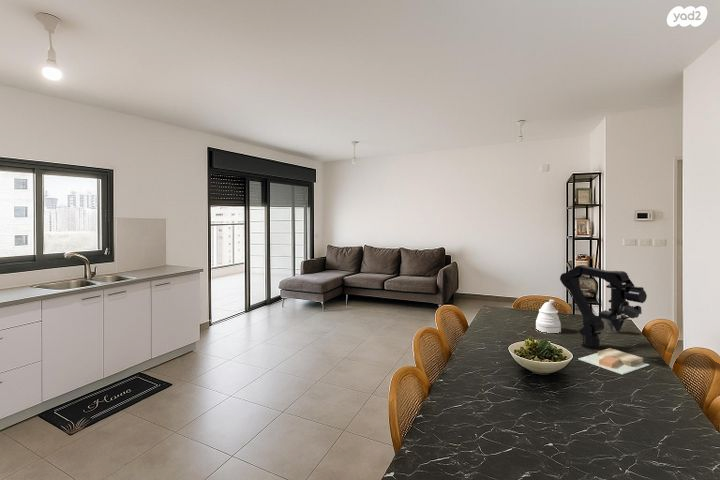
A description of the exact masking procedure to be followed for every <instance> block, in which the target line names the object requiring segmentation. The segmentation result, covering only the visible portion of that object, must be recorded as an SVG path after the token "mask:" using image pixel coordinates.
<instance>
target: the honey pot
mask: <svg viewBox="0 0 720 480" xmlns="http://www.w3.org/2000/svg"><path fill="white" fill-rule="evenodd" d="M554 302H555V300H554V299H549V301H546V302H544V303H543V304H542V306H541V307H540V308H539V309H538V314H537V317H536V320H535V330H536V329H537V330H539V331H541V332H547V333H558V334H560V333H561V332H562V322H561V321H560V318H559V315H558V313H559V310H557V309H556V308H555V307H554V305H553V304H554ZM537 330H536V331H537ZM541 332H540V333H541ZM559 332H560V333H559Z"/></svg>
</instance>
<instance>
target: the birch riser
mask: <svg viewBox="0 0 720 480" xmlns="http://www.w3.org/2000/svg"><path fill="white" fill-rule="evenodd" d="M597 353H598V356H599V357H602V358H604V357H606V356H610V357H614V358H618V359H620V363H621V364H624V365H627V366H630V367H631V366H634V365H637V364H640V363H644V358H643V357H642V356H641V357H640V356H638V355H635V354H631V353H627V352H625V351H621V350H618V349H615V348H614V349H613V348H612V347H609V348H606V349H602V350H598V351H597Z"/></svg>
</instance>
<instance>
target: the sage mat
mask: <svg viewBox="0 0 720 480" xmlns="http://www.w3.org/2000/svg"><path fill="white" fill-rule="evenodd" d="M577 359H578V360H579V361H582V362H584V363H588V364H591V365H593V366H597V367H599V368H603V369H605V370H608V371H611V372H613V373H616V374H619V375H626V374H628V373H631V372H634V371H637V370H640V369H643V368H645V367H648V366H650V363H646V362H643V363H640V364H637V365H634V366H631V367H630V366H627V365H624V364H621V363H620V364H618V365H617V366H615V367H613V368H609V367H606V366H602V365H599V360H600V359H602V357H599V356H598V352H597V353H593V354H589V355H584V356H581V357H579V358H577Z"/></svg>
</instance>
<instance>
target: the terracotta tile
mask: <svg viewBox="0 0 720 480" xmlns="http://www.w3.org/2000/svg"><path fill="white" fill-rule="evenodd" d="M618 364H620V359H618V358H614V357H610V356H606V357H604V358H602V359H600V360H599V365H602V366H606V367H609V368H613V367H615V366H617V365H618Z"/></svg>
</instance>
